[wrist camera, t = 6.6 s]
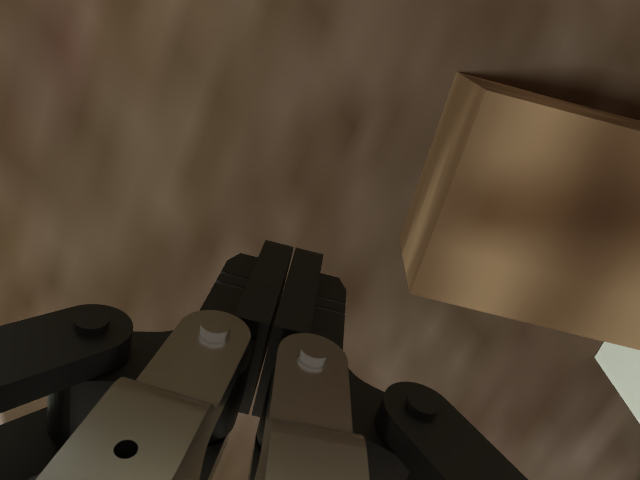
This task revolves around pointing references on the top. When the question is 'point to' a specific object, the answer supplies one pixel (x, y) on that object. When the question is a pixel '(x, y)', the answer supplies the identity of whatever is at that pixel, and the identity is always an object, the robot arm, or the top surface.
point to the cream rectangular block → (622, 372)
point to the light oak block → (530, 212)
